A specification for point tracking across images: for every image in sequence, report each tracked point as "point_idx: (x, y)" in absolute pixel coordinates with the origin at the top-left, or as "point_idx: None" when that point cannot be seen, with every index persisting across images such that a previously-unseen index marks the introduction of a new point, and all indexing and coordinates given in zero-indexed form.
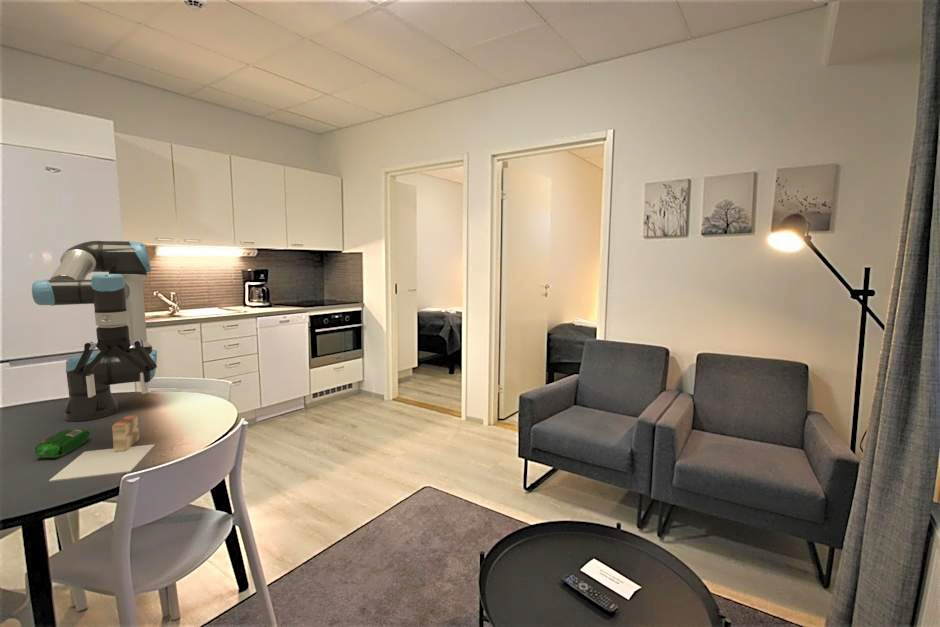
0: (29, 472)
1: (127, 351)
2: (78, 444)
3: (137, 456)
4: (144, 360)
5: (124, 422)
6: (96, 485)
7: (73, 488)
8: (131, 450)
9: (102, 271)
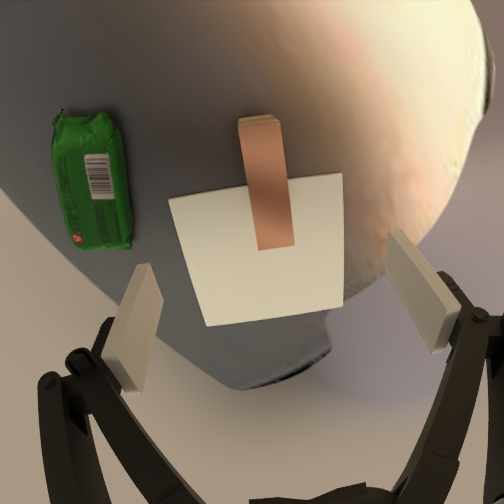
0: None
1: (416, 498)
2: (126, 173)
3: (329, 244)
4: (492, 411)
5: (282, 220)
6: (303, 339)
7: (269, 344)
8: (296, 207)
9: None
